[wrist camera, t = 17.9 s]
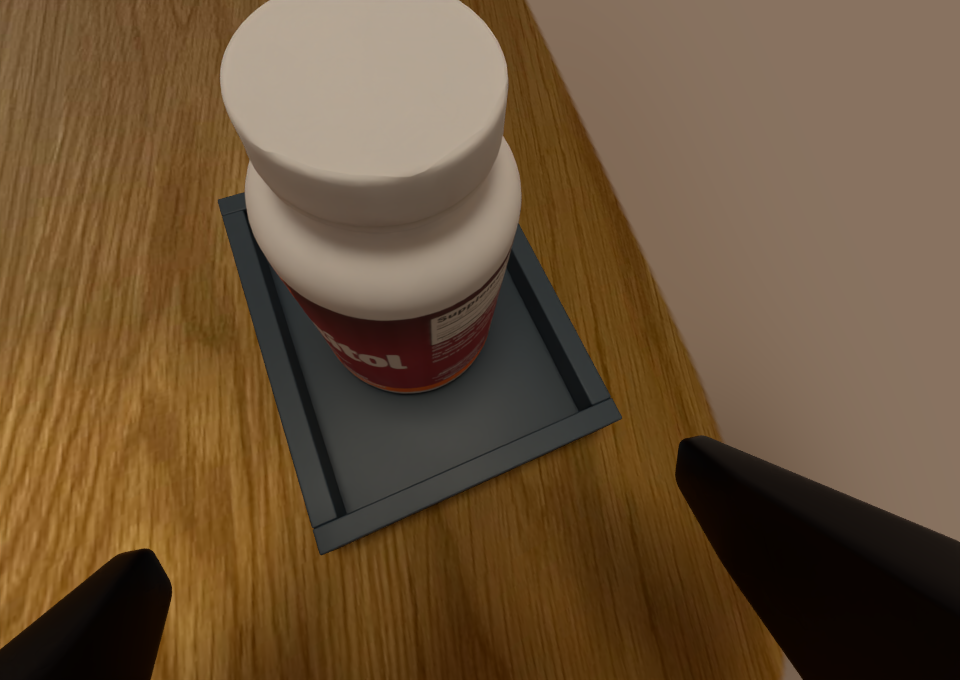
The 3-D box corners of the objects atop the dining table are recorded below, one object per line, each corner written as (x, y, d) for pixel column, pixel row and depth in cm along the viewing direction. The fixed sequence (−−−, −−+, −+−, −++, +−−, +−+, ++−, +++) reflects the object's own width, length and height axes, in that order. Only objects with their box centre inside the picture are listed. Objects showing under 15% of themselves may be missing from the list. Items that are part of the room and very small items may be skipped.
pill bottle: (296, 322, 17) (76, 47, 7) (412, 227, 19) (376, -99, 9) (409, 434, 16) (348, 305, 6) (520, 321, 18) (625, 72, 8)
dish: (601, 428, 17) (623, 417, 15) (337, 549, 15) (319, 556, 13) (466, 167, 21) (469, 130, 19) (242, 233, 19) (216, 199, 17)
